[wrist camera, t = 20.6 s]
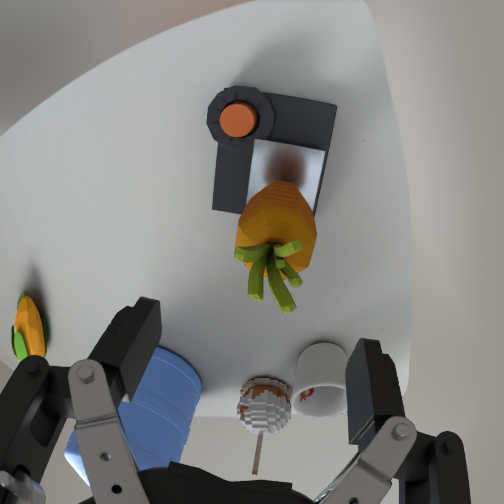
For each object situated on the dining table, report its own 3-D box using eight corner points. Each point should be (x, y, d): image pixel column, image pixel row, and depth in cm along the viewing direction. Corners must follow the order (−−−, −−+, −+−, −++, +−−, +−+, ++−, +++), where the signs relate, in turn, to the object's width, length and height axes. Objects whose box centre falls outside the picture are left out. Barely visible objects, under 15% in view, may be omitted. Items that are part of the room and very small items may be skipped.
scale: (218, 83, 26) (210, 83, 24) (336, 101, 26) (340, 102, 23) (207, 203, 33) (199, 214, 30) (311, 221, 32) (312, 234, 30)
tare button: (226, 101, 25) (221, 102, 23) (259, 104, 25) (256, 106, 23) (222, 132, 26) (218, 134, 25) (254, 136, 26) (251, 139, 25)
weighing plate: (255, 138, 26) (254, 138, 26) (325, 150, 26) (325, 151, 25) (243, 222, 30) (243, 223, 30) (307, 233, 30) (307, 235, 29)
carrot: (248, 167, 27) (199, 255, 14) (305, 155, 26) (312, 235, 13) (262, 219, 29) (231, 336, 16) (316, 209, 28) (327, 325, 15)
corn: (9, 364, 46) (-6, 301, 37) (25, 339, 53) (19, 273, 43) (37, 382, 48) (28, 323, 38) (52, 355, 54) (52, 293, 44)
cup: (364, 373, 42) (370, 418, 36) (315, 388, 45) (315, 432, 38) (338, 327, 39) (343, 376, 32) (283, 346, 41) (279, 394, 35)
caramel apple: (237, 375, 46) (217, 462, 33) (288, 374, 44) (280, 465, 31) (248, 403, 49) (233, 481, 37) (294, 402, 48) (287, 484, 35)
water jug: (196, 348, 44) (133, 532, 20) (208, 406, 52) (168, 548, 28) (105, 332, 46) (21, 478, 22) (130, 390, 54) (76, 513, 30)
